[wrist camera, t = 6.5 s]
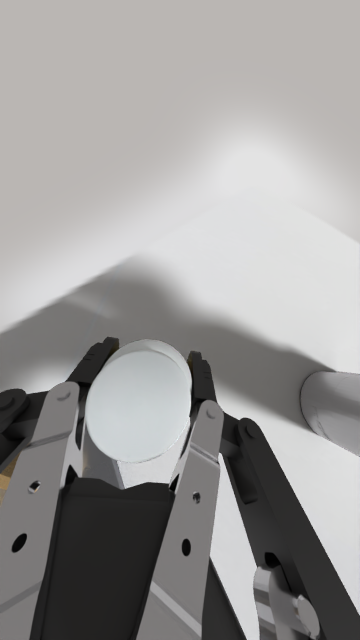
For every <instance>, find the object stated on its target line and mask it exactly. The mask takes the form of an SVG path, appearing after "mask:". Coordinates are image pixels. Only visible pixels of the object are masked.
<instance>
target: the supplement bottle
mask: <svg viewBox="0 0 360 640" xmlns="http://www.w3.org/2000/svg"><path fill="white" fill-rule="evenodd" d="M191 394H192V378H191V373H190V370H189V367H188V365H187V363H186V361H185V359H184V358H183V356H182V355H181V354H180V353H179V352H178V351H177V350H176V349H175V348H174V347H172V346H171V345H169V344H167V343H165V342H162V341H159V340H153V339H144V340H138V341H134V342H131V343H129V344H126V345H125V346H123V347H121V348H120V349H119V350H117V351H116V352H115V353H114V354H113V355H112V356H111V357H110V358H109V359H108V361H107V362H106V363H105V365H104V366H103V368H102V370H101V372H100V373H99V374H98V375H97V377H96V378H95V380H94V381H93V383H92V385H91V387H90V390H89V392H88V396H87V400H86V406H85V419H86V424H87V429H88V432H89V435H90V437H91V439H92V441H93V442H94V444H95V445H96V446H97V447H98V449H99V450H101V451H102V452H103V453H104V454H106V455H107V456H109V457H110V458H113V459H115V460H117V461H121V462H125V463H141V462H145V461H148V460H151V459H154V458H156V457H158V456H160V455H162V454H163V453H165V452H166V451H167V450H168V449H169V448H170V447H172V446H173V445H174V444H175V442H176V441H177V440H178V438H179V437H180V436H181V434H182V432H183V430H184V428H185V426H186V424H187V421H188V418H189V414H190V408H191Z"/></svg>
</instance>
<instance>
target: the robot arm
mask: <svg viewBox="0 0 360 640" xmlns="http://www.w3.org/2000/svg"><path fill="white" fill-rule="evenodd" d="M117 350H119V339H118V338H112V337H107V338H106V339H105V340H104V342H103V343H97V344H95V345H94V346H92V347H91V348H90V349H89V351H88V352H87V354H86V355H85V356H84V357H83V359H82V360H81V361H80V363H79V364H78V365H77V367H76V368H75V369H74V371H73V372H72V373H71V375H70V376H69V377H68V379H67V380H66V381H65V382H63V383H60V384H58V385H56V386H55V387H53V388H52V389H51V390H49V391H45V392H38V393H32V394H26V392H25V391H24V390H22V389H10V390H6V391H4V392H1V393H0V474H1V473H2V472H3V470H4V469H5V468H6V467H7V466H8V465H9V464H10V463H11V462H12V460H13V459H14V458H15V457H16V456H17V455H18V454H19V453H20V452H21V453H20V455H19V457H18V460H17V463H16V465H15V468H14V471H13V474H12V476H11V479H10V482H9V485H8V488H7V490H6V493H5V496H4V499H3V502H2V504H1V507H0V640H247V639H246V637H245V635H244V632H243V630H242V628H241V626H240V623H239V621H238V619H237V616H236V614H235V612H234V610H233V607H232V605H231V603H230V601H229V598H228V596H227V594H226V592H225V589H224V587H223V585H222V583H221V580H220V578H219V576H218V574H217V571H216V569H215V567H214V565H213V562H212V560H211V558H210V548H211V540H212V533H213V525H214V517H215V509H216V501H217V494H218V486H219V478H220V464H219V462H218V455H219V452H220V453H221V454H222V456H223V459H224V463H225V466H226V469H227V472H228V475H229V479H230V482H231V485H232V488H233V491H234V495H235V498H236V501H237V504H238V508H239V511H240V514H241V517H242V520H243V524H244V527H245V530H246V533H247V537H248V540H249V543H250V546H251V549H252V553H253V556H254V559H255V562H256V565H257V569H256V572H255V575H254V581H253V590H254V599H255V605H256V609H257V614H258V620H259V630H260V640H360V616H359V614H358V612H357V610H356V608H355V606H354V604H353V602H352V600H351V599H350V597H349V595H348V593H347V591H346V589H345V587H344V585H343V583H342V582H341V580H340V578H339V576H338V574H337V572H336V570H335V568H334V566H333V565H332V563H331V561H330V559H329V557H328V555H327V553H326V551H325V549H324V548H323V546H322V544H321V542H320V540H319V538H318V536H317V534H316V532H315V531H314V529H313V527H312V525H311V523H310V521H309V519H308V517H307V515H306V514H305V512H304V510H303V508H302V506H301V504H300V502H299V500H298V499H297V497H296V495H295V493H294V491H293V489H292V487H291V485H290V483H289V482H288V480H287V478H286V476H285V474H284V472H283V470H282V468H281V466H280V465H279V463H278V461H277V459H276V457H275V455H274V453H273V451H272V449H271V448H270V446H269V444H268V442H267V440H266V438H265V436H264V434H263V432H262V431H261V429H260V427H259V426H258V425H257V424H256V423H255V422H254V421H253V420H251V419H249V418H242V419H240V420H238V419H236V418H234V417H232V416H230V415H228V414H226V413H225V412H224V411H223V410H222V409H221V407H220V406H219V405H218V403H217V400H216V395H215V390H214V385H213V380H212V374H211V369H210V366H209V364H208V362H207V361H206V360H202V357H201V353H200V352H195V351H191V352H190V354H189V357H188V360H187V365H188V367H189V370H190V373H191V378H192V394H191V408H190V414H189V417H190V426H189V428H188V431H187V434H186V437H185V440H184V443H183V447H182V450H181V453H180V456H179V459H178V461H177V464H176V466H175V469H174V471H173V474H172V477H171V480H170V483H169V484H166V483H152V482H146V483H143V484H140V485H136V486H133V487H130V488H127V489H119V488H117V487H115V486H113V485H111V484H109V483H107V482H105V481H103V480H101V479H96V478H82V470H83V442H84V432H85V423H86V419H85V406H86V400H87V396H88V392H89V390H90V387H91V385H92V383H93V381H94V380H95V378H96V377H97V375H98V374H99V373H100V372H101V370H102V368H103V366H104V365H105V363H106V362H107V361H108V359H109V358H110V357H111V356H112V355H113V354H114V353H115V352H116V351H117ZM301 408H302V412H303V415H304V417H305V420H306V421H307V423H308V425H309V426H310V427H311V428H312V430H313V431H314V432H316V433H317V434H318V435H320V436H322V437H323V438H325V439H327V440H329V441H331V442H333V443H335V444H337V445H338V446H340V447H342V448H344V449H346V450H348V451H350V452H352V453H353V454H355V455H357V456H359V457H360V374H355V373H347V372H339V371H338V372H336V373H335V372H327V371H319V372H315V373H313V374H312V375H310V376H309V377H308V378H307V379H306V381H305V383H304V384H303V387H302V390H301ZM31 439H32V440H31ZM30 440H31V442H30V444H29V445H28V446H26V445H27V444H28V443H29V441H30ZM25 446H26V447H25ZM24 447H25V448H24ZM23 448H24V449H23ZM22 449H23V450H22ZM21 450H22V451H21ZM36 489H38V490H37V491H36V492H35V490H36ZM34 492H35V493H34Z"/></svg>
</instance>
